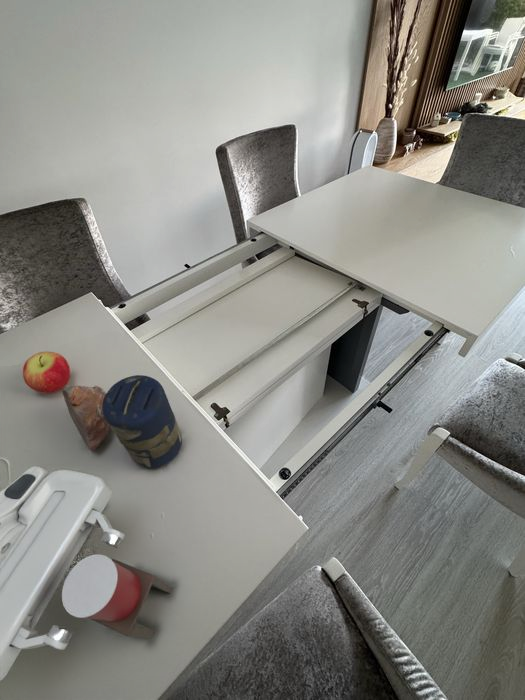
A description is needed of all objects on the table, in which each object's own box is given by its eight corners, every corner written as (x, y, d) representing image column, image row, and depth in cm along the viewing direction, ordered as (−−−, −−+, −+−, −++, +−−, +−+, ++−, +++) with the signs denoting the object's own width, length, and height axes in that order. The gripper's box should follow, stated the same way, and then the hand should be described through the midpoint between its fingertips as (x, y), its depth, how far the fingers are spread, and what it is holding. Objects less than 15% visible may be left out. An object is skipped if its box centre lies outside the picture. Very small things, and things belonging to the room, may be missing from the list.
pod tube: (127, 630, 39) (96, 626, 32) (87, 613, 40) (50, 605, 33) (149, 577, 42) (126, 564, 35) (112, 563, 43) (83, 547, 36)
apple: (63, 403, 72) (39, 374, 64) (27, 397, 73) (-1, 367, 65) (84, 372, 77) (64, 342, 69) (50, 366, 78) (27, 336, 70)
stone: (69, 413, 70) (46, 385, 62) (109, 391, 73) (91, 361, 66) (94, 459, 64) (70, 434, 56) (136, 433, 67) (119, 405, 60)
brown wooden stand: (152, 638, 47) (127, 636, 39) (114, 621, 48) (82, 615, 40) (173, 587, 51) (154, 575, 42) (137, 572, 52) (112, 558, 44)
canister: (121, 460, 64) (82, 409, 50) (150, 417, 69) (122, 361, 56) (166, 479, 61) (137, 431, 48) (192, 433, 67) (173, 378, 53)
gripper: (-115, 656, 32) (5, 724, 29) (42, 453, 44) (136, 487, 42) (-65, 655, 36) (42, 713, 34) (64, 472, 49) (150, 503, 46)
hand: (95, 586), depth 38 cm, fingers open, 8 cm apart
